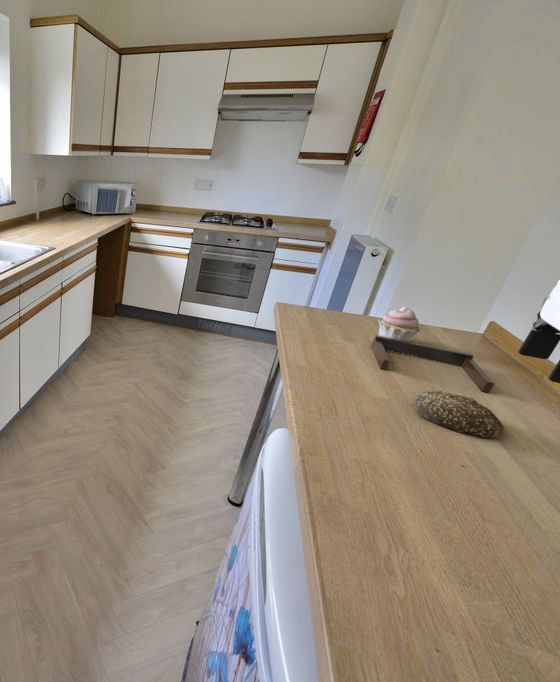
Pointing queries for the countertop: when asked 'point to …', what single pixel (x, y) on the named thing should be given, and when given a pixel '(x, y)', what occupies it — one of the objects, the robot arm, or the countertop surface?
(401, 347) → the frame
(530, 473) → the countertop surface
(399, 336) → the cupcake
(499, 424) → the bread roll
